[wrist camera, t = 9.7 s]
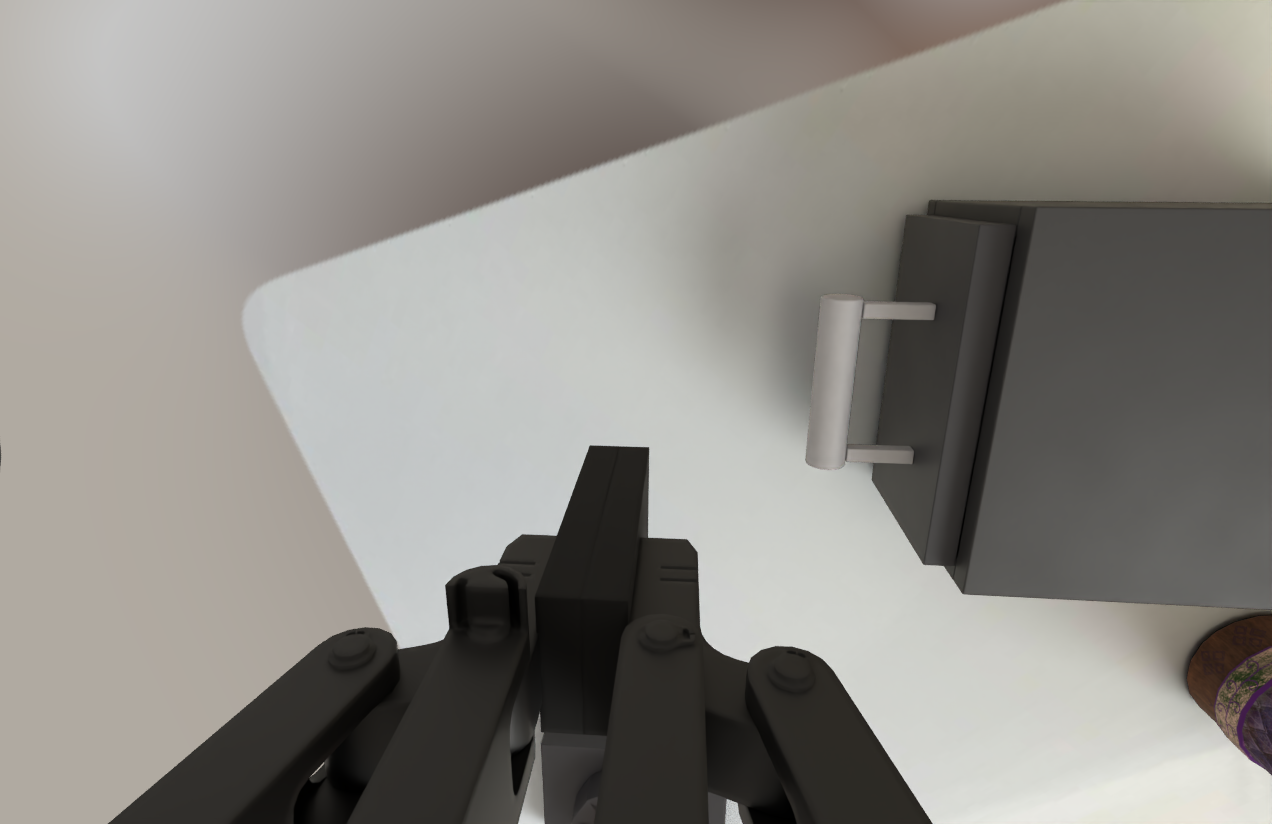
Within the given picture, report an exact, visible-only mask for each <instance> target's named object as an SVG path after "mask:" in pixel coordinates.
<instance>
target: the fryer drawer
mask: <svg viewBox="0 0 1272 824" xmlns="http://www.w3.org/2000/svg"><path fill="white" fill-rule="evenodd" d="M1016 228H1017V225H1015V224H1006V223H998V222H989V221H981V220H972V219H964V218H955V217H947V216H938V215H906V222H905V229H904V237H903V245H902V252H901V260H900V268H899V275H898V283H897V290H896V298H895V302H877V301H864V300H863V298H862V297H860V296H856V295H849V294H826V295H823V296H821V301H820V311H819V322H818V332H817V343H816V353H815V364H814V374H813V385H812V395H811V406H810V416H809V427H808V437H807V448H806V458H805V460H806V463H807V464H808V465H810V466H812V467H815V468H818V469H824V470H836V469H840V468H842V467H843V466H844V464H845V460H846V461H847V462H868V463H874V466H873V473H872V481H873V483H874V484H875V486H876V488H877V489H878V491H879V493H880V494H881V496H882V497H883V499H884V501H885V502H886V504H887V506H888V507H889V509H890V511H891V512H892V514H893V515H894V517H895V519H896V520H897V522H898V524H899V525H900V527H901V529H902V530H903V532H904V533H905V535H906V537H907V538H908V540H909V542H910V543H911V545H912V547H913V548H914V550H915V551H916V553H917V555H918V556H919V558H920V560H921V561H922V563H923V564H924V565H939V566H955V561H956V556H957V550H958V545H959V539H960V534H961V529H962V523H963V518H964V512H965V507H966V508H967V504H968V498H969V493H970V487H971V482H972V476H973V471H974V465H975V460H976V455H977V449H978V444H979V438H980V433H981V427H982V422H983V416H984V411H985V406H986V400H987V395H988V389H989V384H990V378H991V373H992V367H993V362H994V357H995V351H996V346H997V340H998V335H999V329H1000V324H1001V319H1002V313H1003V308H1004V302H1005V297H1006V291H1007V286H1008V280H1009V275H1010V270H1011V264H1012V259H1013V253H1014V248H1015V242H1016V238H1015V233H1016ZM861 318H863V319H893V321H892V329H891V336H890V344H889V351H888V359H887V367H886V374H885V382H884V390H883V397H882V405H881V412H880V420H879V428H878V435H877V443H876V445H862V444H847V439H848V430H849V422H850V413H851V405H852V396H853V387H854V379H855V370H856V361H857V353H858V344H859V336H860V327H861Z"/></svg>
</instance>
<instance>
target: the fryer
mask: <svg viewBox="0 0 1272 824" xmlns="http://www.w3.org/2000/svg"><path fill="white" fill-rule="evenodd" d="M927 215H938V216H947V217H955V218H964V219H972V220H981V221H989V222H998V223H1006V224H1015V225H1017V228H1016V233H1015V238H1016V242H1015V248H1014V253H1013V259H1012V264H1011V270H1010V275H1009V280H1008V286H1007V291H1006V297H1005V302H1004V308H1003V313H1002V319H1001V324H1000V329H999V335H998V340H997V346H996V351H995V357H994V362H993V367H992V373H991V378H990V384H989V389H988V395H987V400H986V406H985V411H984V416H983V422H982V427H981V433H980V438H979V444H978V449H977V455H976V460H975V465H974V471H973V476H972V482H971V487H970V493H969V498H968V504H967V508H966V507H965V512H964V518H963V523H962V529H961V534H960V539H959V545H958V550H957V556H956V561H955V566H944V567H945V568H946V570H947V571H948V573H949V574H950V576H951V578H952V579H953V580H954V582H955V583H956V585H957V586H958V588H959V589H960V591H961V592H962V594H968V595H988V596H1008V597H1027V598H1047V599H1067V600H1087V601H1106V602H1126V603H1146V604H1166V605H1185V606H1205V607H1225V608H1245V609H1265V610H1272V203H1202V202H1084V201H966V200H931V201H929V205H928V212H927Z"/></svg>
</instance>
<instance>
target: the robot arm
mask: <svg viewBox="0 0 1272 824" xmlns="http://www.w3.org/2000/svg"><path fill="white" fill-rule="evenodd" d="M648 489H649V447H619V446H590V447H589V449H588V452H587V455H586V458H585V460H584V463H583V466H582V469H581V471H580V474H579V477H578V480H577V482H576V485H575V488H574V490H573V493H572V496H571V499H570V501H569V504H568V507H567V510H566V512H565V515H564V518H563V521H562V523H561V526H560V529H559V531H558V534H557V536H548V535H524V534H522V535H521V536H520V537H518V538H517V539H516V540H515V541H513V542H512V543H511V544H509V545H508V546H507V547H506V549H505V551H504V553H503V555H502V557H501V559H500V563H498V565H491V566H480V567H476V568H472V569H468V570H465V571H463V572H462V573H460V574H458V575H456V576H454V577H453V578H452V579H451V580H450V581H449V582H448V583H447V584H446V585H445V588H446V598H447V608H448V618H449V630H448V632H447V634H446V636H445V638H444V640H441V641H439V642H435V643H431V644H427V645H422V646H416V647H410V648H404V649H398V648H397V641H396V640H395V638H394V637H393V636H392V634H391V633H389V632H387V631H384V630H382V629H378V628H366V627H365V628H358V629H352V630H347V631H345V632H342V633H339V634H337V635H334V636H332V637H330V638H329V639H327V640H326V641H324V642H322V643H321V644H319V645H318V646H317V647H316V648H315V649H313V650H312V651H311V652H310V653H309V654H307V655H306V656H305V657H304V658H303V659H301V660H300V661H299V662H298V663H297V664H296V665H295V666H293V667H292V668H291V669H290V670H289V671H287V672H286V673H285V674H284V675H283V676H281V677H280V678H279V679H278V680H277V681H276V682H274V683H273V684H272V685H271V686H270V687H268V688H267V689H266V690H265V691H264V692H263V693H261V694H260V695H259V696H258V697H257V698H256V699H254V700H253V701H252V702H251V703H250V704H248V705H247V706H246V707H245V708H244V709H243V710H241V711H240V712H239V713H238V714H237V715H236V716H234V717H233V718H232V719H231V720H230V721H229V722H227V723H226V724H225V725H224V726H223V727H221V728H220V729H219V730H218V731H217V732H215V733H214V734H213V735H212V736H211V737H210V738H208V739H207V740H206V741H205V742H204V743H202V744H201V745H200V746H199V747H198V748H197V749H196V750H194V751H193V752H192V753H191V754H190V755H188V756H187V757H186V758H185V759H184V760H183V761H181V762H180V763H179V764H178V765H177V766H176V767H174V768H173V769H172V770H171V771H170V772H168V773H167V774H166V775H165V776H164V777H162V778H161V779H160V780H159V781H158V782H157V783H155V784H154V785H153V786H152V787H151V788H150V789H148V790H147V791H146V792H145V793H144V794H143V795H141V796H140V797H139V798H138V799H137V800H135V801H134V802H133V803H132V804H131V805H130V806H128V807H127V808H126V809H125V810H124V811H122V812H121V813H120V814H119V815H118V816H117V817H115V818H114V819H113V820H112V821H111V822H109V823H108V824H518V821H519V817H520V814H521V810H522V806H523V802H524V798H525V794H526V790H527V786H528V783H529V779H530V775H531V771H532V767H533V763H534V759H535V732H534V731H535V727H536V724H537V720H538V716H539V713H540V717H541V732H549V733H566V734H582V735H599V736H607V738H606V745H605V752H604V758H603V765H602V772H601V779H600V786H599V793H598V800H597V806H596V813H595V820H594V824H709V813H708V792H710V793H713V794H716V795H718V796H721V797H724V798H726V799H729V800H732V801H734V802H737V803H738V808H739V814H740V817H741V820H742V823H743V824H932V822H931V821H930V819H929V817H928V816H927V814H926V813H925V811H924V810H923V808H922V807H921V805H920V804H919V802H918V801H917V799H916V797H915V796H914V794H913V793H912V791H911V790H910V788H909V787H908V785H907V784H906V782H905V781H904V779H903V777H902V776H901V774H900V773H899V771H898V770H897V768H896V767H895V765H894V764H893V762H892V761H891V759H890V757H889V756H888V754H887V753H886V751H885V750H884V748H883V747H882V745H881V744H880V742H879V741H878V739H877V737H876V736H875V734H874V733H873V731H872V730H871V728H870V727H869V725H868V724H867V722H866V721H865V719H864V717H863V716H862V714H861V713H860V711H859V710H858V708H857V707H856V705H855V704H854V702H853V701H852V699H851V697H850V696H849V694H848V693H847V691H846V690H845V688H844V687H843V685H842V684H841V682H840V680H839V679H838V677H837V676H836V674H835V673H834V671H833V670H832V669H831V668H830V667H829V666H828V665H827V664H826V662H825V661H824V660H823V659H821V658H819V657H818V656H816V655H814V654H812V653H810V652H809V651H806V650H802V649H798V648H795V647H783V646H775V647H771V648H767V649H763V650H761V651H759V652H758V653H757V654H755V655H754V656H753V657H751V660H750V662H749V663H747V662H744V661H740V660H737V659H734V658H731V657H729V656H726V655H724V654H722V653H720V652H719V651H717V650H715V649H714V648H713V647H712V646H710V645H709V644H708V643H707V642H706V640H705V639H704V637H703V635H702V633H701V629H700V612H699V582H698V553H697V551H696V550H695V549H694V547H693V546H692V545H691V544H690V542H689V541H688V540H687V539H664V538H648ZM323 762H324V765H323V766H322V767H321V768H320V769H319V770H318V771H317V772H316V773H315V774H314V775H312V774H313V773H314V772H315V771H316V770H317V769H318V768H319V767H320V766H321V764H322V763H323ZM311 775H312V776H311ZM310 776H311V777H310ZM309 777H310V778H309Z"/></svg>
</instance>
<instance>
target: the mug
mask: <svg viewBox="0 0 1272 824" xmlns="http://www.w3.org/2000/svg"><path fill="white" fill-rule="evenodd" d="M1187 682H1188V687H1189V692H1190V695H1191V696H1192V697H1193V699H1194V700H1195V701H1196V703H1197V704H1198V705H1199V707H1200V708H1201V709H1203V710H1204V711H1205V712H1206V713H1207V714H1208V715H1209V716H1210V717H1211V718H1212V719H1213V720H1214V721H1215V722H1216V723H1217V725H1218V726H1219V727H1220V729H1221V730H1222V731H1223V733H1224V734H1225V735H1226V737H1227V738H1228V739H1229V740H1230V741H1231V742H1232V743H1233V744H1234V745H1235V746H1236V747H1237V748H1238V749H1239V750H1240V751H1241V752H1242V753H1244V754H1245V755H1246V756H1247V757H1248V758H1249V759H1250V760H1251V761H1253V762H1254V763H1256V764H1257V765H1259V766H1261V767H1262V768H1264V769H1266V770H1267V771H1268V772H1269V773H1270V774H1271V775H1272V616H1257V617H1253V618H1249V619H1245V620H1241V621H1237V622H1234V623H1232V624H1230V625H1228V626H1226V627H1224V628H1222V629H1220V630H1218V631H1216V632H1215V633H1214V634H1212V635H1211V636H1210V637H1209V638H1208V639H1207V640H1206V641H1204V642H1203V643H1202V644H1201V646H1200V647H1199V649H1198V650H1197V652H1196V653H1195V655H1194V656H1193V658H1192V660H1191V662H1190V666H1189V670H1188V675H1187Z"/></svg>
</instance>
